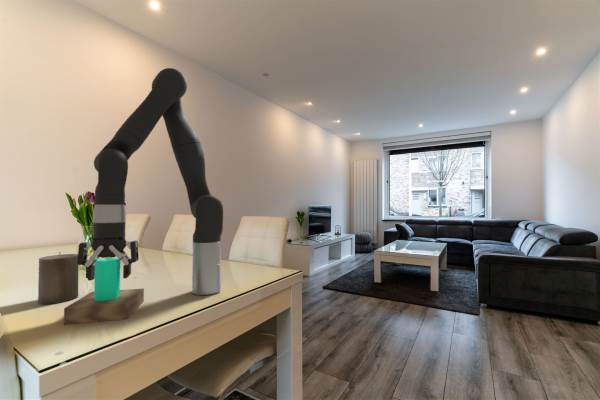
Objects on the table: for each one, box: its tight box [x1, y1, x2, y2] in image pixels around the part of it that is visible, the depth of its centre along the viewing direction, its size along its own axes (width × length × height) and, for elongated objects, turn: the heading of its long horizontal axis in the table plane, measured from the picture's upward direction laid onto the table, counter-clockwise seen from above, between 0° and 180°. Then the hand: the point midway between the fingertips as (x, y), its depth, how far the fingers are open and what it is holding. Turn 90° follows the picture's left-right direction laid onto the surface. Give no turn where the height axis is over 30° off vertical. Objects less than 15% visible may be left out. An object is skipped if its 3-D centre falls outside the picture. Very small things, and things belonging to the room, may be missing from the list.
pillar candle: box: [37, 252, 79, 305], centre depth 88 cm, size 10×10×15 cm
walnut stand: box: [63, 288, 145, 325], centre depth 77 cm, size 14×14×4 cm
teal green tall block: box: [93, 257, 121, 301], centre depth 77 cm, size 6×6×12 cm
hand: (108, 278), depth 77 cm, fingers open, 8 cm apart
